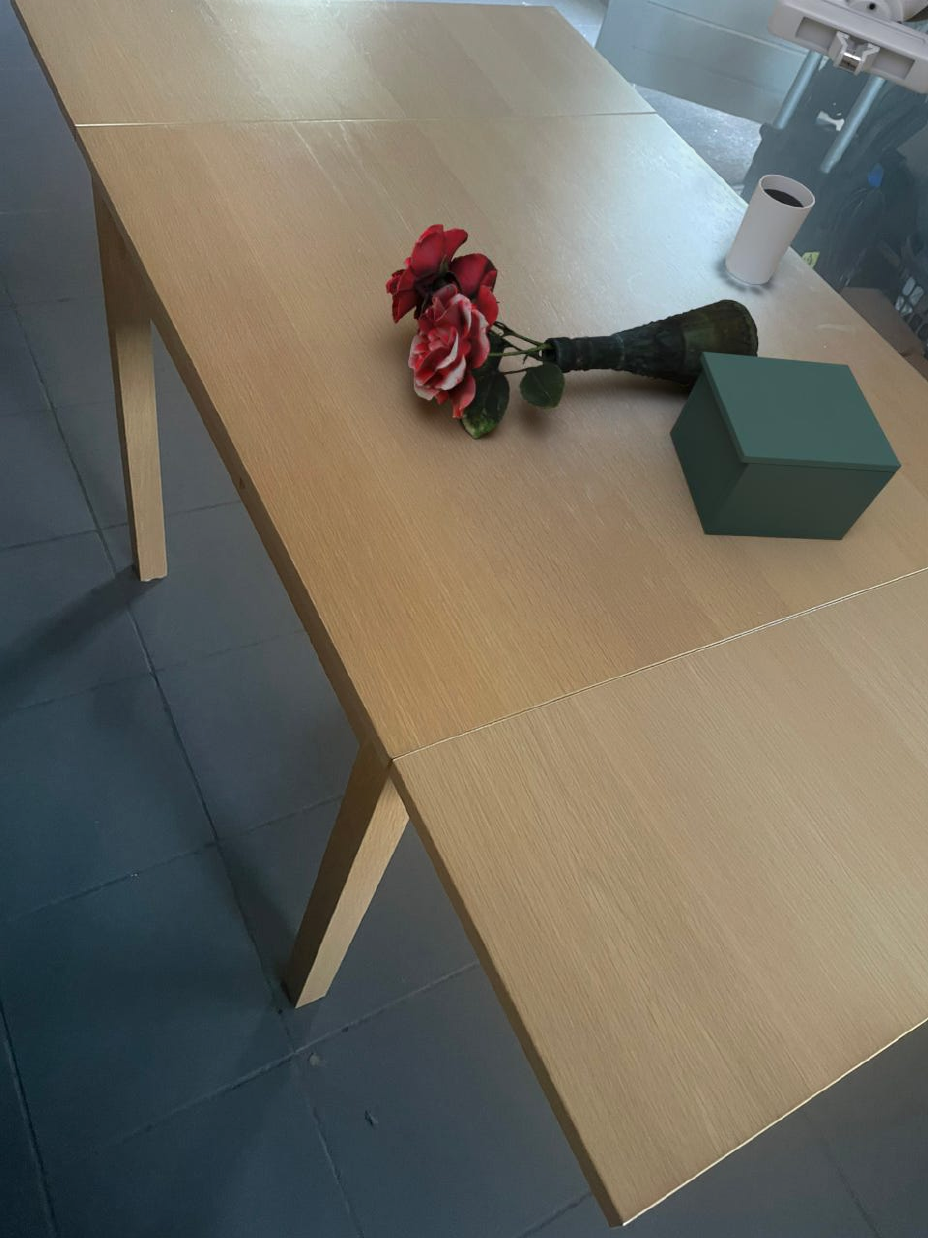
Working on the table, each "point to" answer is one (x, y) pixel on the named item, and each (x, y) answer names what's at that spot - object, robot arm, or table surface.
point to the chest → (763, 482)
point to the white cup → (768, 228)
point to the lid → (797, 413)
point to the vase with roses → (463, 347)
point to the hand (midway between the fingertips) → (848, 63)
